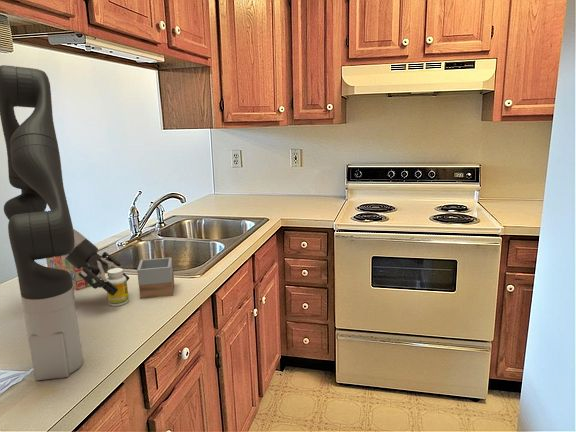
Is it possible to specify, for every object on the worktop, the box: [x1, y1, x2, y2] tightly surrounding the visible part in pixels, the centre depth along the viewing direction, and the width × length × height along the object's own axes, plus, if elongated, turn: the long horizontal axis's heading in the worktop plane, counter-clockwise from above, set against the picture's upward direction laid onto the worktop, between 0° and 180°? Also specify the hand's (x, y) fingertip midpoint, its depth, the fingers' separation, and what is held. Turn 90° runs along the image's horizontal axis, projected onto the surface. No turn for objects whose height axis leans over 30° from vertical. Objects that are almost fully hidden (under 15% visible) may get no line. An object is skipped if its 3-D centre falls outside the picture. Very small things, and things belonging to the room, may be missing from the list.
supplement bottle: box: [106, 267, 130, 307], centre depth 121 cm, size 5×5×10 cm
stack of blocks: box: [45, 256, 96, 291], centre depth 138 cm, size 21×6×12 cm, turn 50°
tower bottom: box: [138, 272, 175, 300], centre depth 129 cm, size 9×9×4 cm
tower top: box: [136, 257, 174, 286], centre depth 127 cm, size 9×9×4 cm
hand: (121, 286), depth 121 cm, fingers open, 8 cm apart
